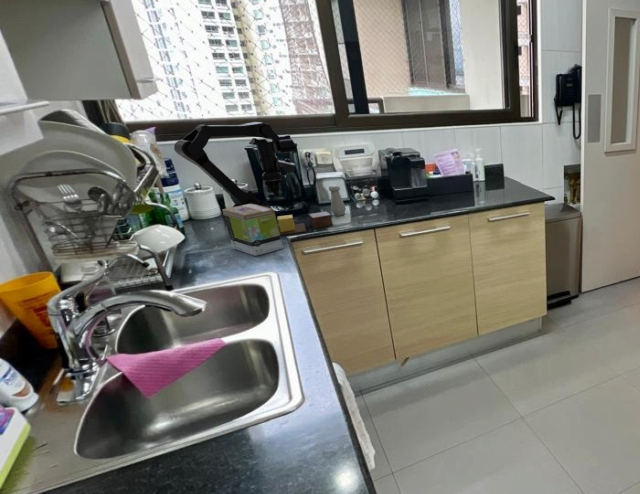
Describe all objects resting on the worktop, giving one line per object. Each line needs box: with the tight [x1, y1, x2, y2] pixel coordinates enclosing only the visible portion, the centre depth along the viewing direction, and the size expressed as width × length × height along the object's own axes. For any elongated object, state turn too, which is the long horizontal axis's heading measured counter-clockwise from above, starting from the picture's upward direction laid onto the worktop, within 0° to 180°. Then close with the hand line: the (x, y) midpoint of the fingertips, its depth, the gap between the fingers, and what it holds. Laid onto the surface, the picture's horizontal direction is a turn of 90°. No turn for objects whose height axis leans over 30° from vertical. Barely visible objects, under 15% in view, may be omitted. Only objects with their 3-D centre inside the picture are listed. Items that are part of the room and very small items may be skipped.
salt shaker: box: [328, 184, 347, 217], centre depth 203 cm, size 6×6×13 cm
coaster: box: [278, 222, 307, 237], centre depth 185 cm, size 12×12×1 cm
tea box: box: [221, 204, 284, 257], centre depth 163 cm, size 15×10×15 cm, turn 59°
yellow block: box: [276, 214, 296, 232], centre depth 184 cm, size 5×5×5 cm
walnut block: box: [308, 211, 333, 229], centre depth 191 cm, size 6×6×4 cm
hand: (277, 193), depth 190 cm, fingers open, 9 cm apart
